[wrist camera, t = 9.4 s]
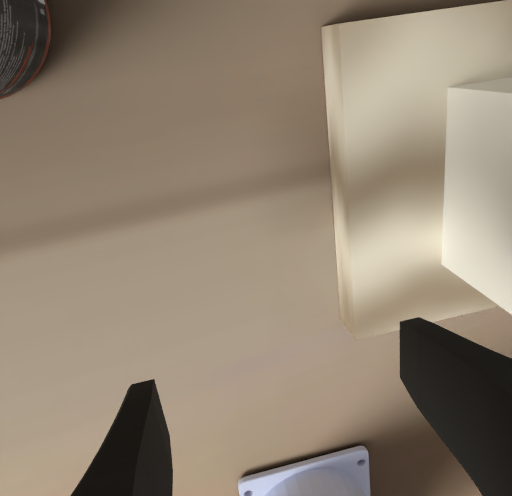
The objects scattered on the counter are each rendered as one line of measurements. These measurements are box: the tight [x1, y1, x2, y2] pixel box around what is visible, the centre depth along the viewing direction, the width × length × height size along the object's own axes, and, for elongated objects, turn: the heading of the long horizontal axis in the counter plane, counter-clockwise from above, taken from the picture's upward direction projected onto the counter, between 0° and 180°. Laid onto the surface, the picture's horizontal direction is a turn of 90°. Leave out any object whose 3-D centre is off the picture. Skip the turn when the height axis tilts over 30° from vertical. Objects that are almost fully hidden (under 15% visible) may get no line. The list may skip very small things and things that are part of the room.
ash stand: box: [321, 0, 512, 340], centre depth 22 cm, size 14×14×2 cm
